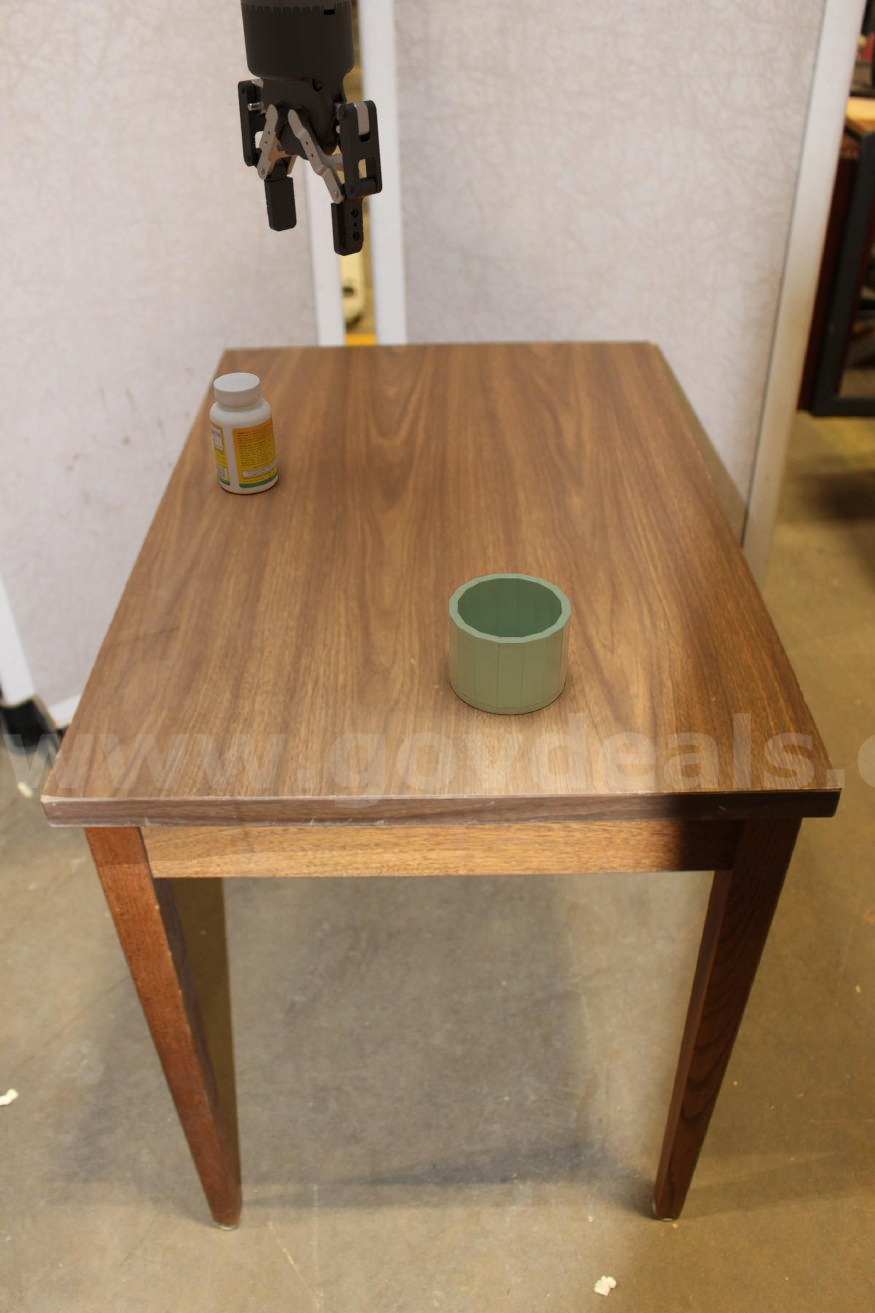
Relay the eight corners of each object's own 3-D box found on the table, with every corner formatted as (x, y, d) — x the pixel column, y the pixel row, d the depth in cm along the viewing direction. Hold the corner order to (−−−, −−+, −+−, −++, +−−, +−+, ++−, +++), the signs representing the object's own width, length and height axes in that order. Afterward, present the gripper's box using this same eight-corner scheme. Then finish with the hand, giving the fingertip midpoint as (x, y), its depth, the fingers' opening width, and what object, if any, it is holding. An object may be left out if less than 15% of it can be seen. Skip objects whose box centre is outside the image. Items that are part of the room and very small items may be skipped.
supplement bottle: (209, 490, 96) (192, 389, 90) (236, 464, 100) (222, 365, 94) (263, 499, 94) (249, 397, 89) (289, 472, 98) (278, 372, 93)
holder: (476, 727, 70) (477, 654, 66) (432, 658, 76) (431, 587, 72) (585, 697, 72) (592, 625, 68) (534, 632, 78) (538, 563, 74)
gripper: (192, -9, 75) (224, 231, 84) (312, 8, 66) (331, 273, 76) (281, -18, 79) (301, 213, 88) (405, -3, 70) (412, 251, 80)
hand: (315, 240), depth 82 cm, fingers open, 8 cm apart
